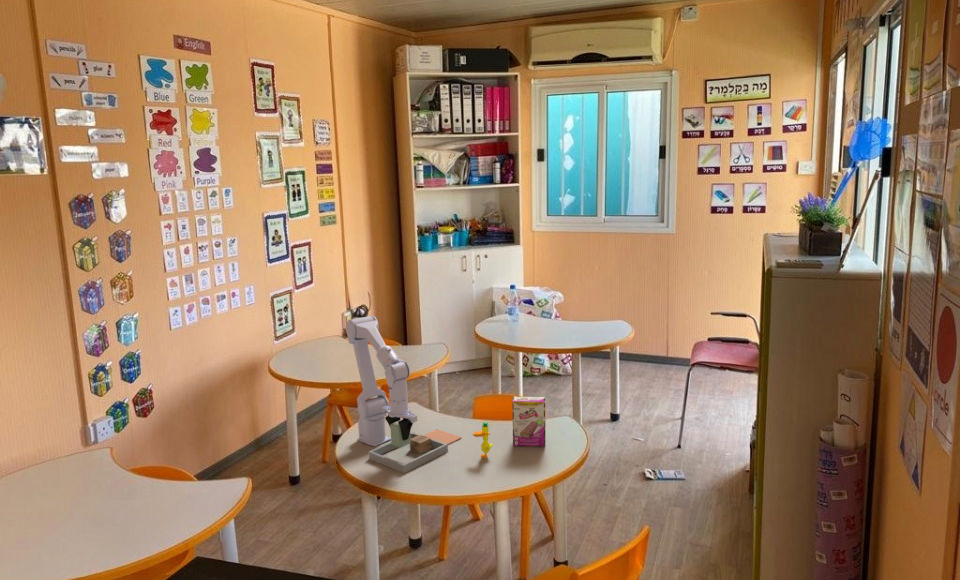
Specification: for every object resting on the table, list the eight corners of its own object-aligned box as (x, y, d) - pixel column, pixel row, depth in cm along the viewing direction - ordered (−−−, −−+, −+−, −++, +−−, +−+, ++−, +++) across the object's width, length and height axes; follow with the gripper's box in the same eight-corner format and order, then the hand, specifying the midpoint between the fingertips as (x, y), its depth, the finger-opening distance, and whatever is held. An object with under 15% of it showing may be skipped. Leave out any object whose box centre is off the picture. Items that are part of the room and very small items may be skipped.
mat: (419, 438, 244) (419, 437, 244) (436, 430, 251) (436, 429, 251) (443, 447, 236) (443, 445, 236) (461, 438, 243) (461, 437, 243)
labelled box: (391, 444, 227) (390, 423, 226) (402, 439, 231) (401, 418, 230) (399, 447, 225) (398, 426, 223) (411, 442, 229) (409, 421, 227)
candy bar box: (512, 447, 235) (511, 401, 231) (513, 440, 240) (512, 396, 236) (546, 447, 234) (545, 401, 230) (546, 441, 238) (545, 396, 235)
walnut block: (410, 450, 235) (409, 439, 234) (420, 445, 239) (420, 434, 238) (420, 454, 232) (420, 443, 231) (431, 449, 236) (430, 438, 235)
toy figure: (474, 460, 226) (473, 425, 223) (472, 455, 229) (471, 421, 227) (494, 458, 227) (493, 423, 224) (492, 453, 230) (491, 419, 228)
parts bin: (369, 458, 229) (368, 451, 229) (413, 438, 244) (412, 432, 244) (404, 473, 218) (403, 465, 218) (447, 451, 233) (447, 444, 233)
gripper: (374, 397, 227) (377, 436, 229) (404, 407, 217) (407, 447, 220) (390, 391, 232) (393, 429, 235) (421, 400, 222) (423, 440, 225)
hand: (400, 437), depth 228 cm, fingers closed on labelled box, 4 cm apart
